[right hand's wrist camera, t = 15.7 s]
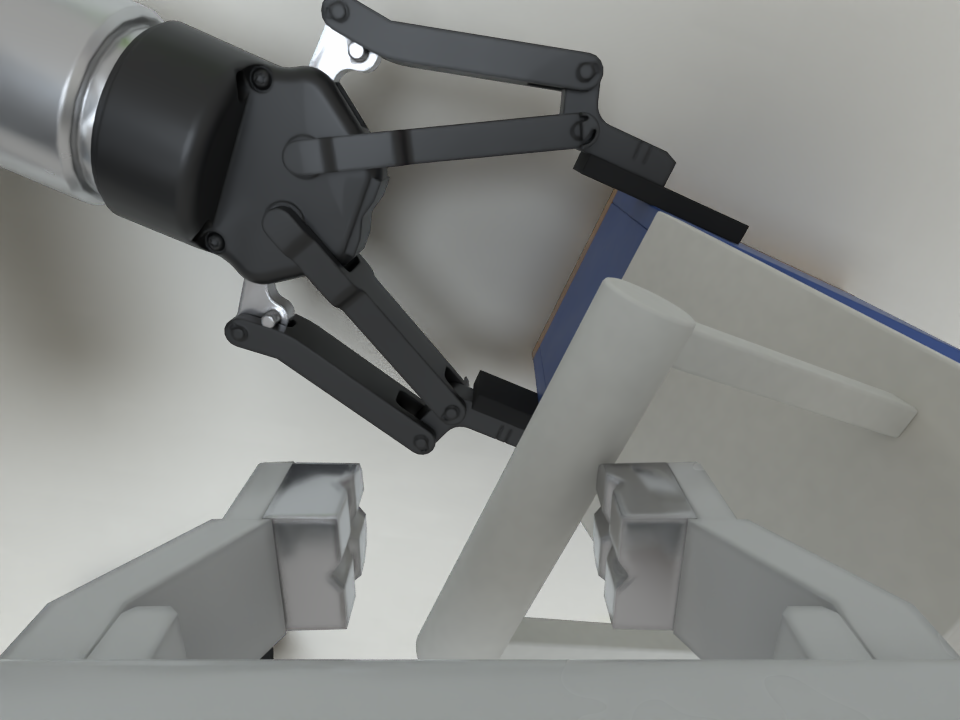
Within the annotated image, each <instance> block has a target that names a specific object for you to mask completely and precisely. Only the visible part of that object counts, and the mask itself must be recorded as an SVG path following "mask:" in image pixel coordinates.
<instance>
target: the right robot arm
mask: <svg viewBox="0 0 960 720" xmlns="http://www.w3.org/2000/svg"><path fill="white" fill-rule="evenodd" d="M363 491H364V484H363V474H362V469H361V466H360V463H310V462H296V463H295V462H264V463H260V464H259V465H258V466H257V467H256V469H255V470H254V472H253V473H252V475H251V476H250V478H249V479H248V481H247V482H246V484H245V485H244V487H243V488H242V490H241V491H240V493H239V494H238V496H237V497H236V499H235V500H234V502H233V503H232V505H231V507H230V508H229V510H228V511H227V513H226V514H225V516H224V517H223V519H211V520H209V521H207V522H206V523H204V524H202V525H200V526H198V527H196V528H194V529H192V530H190V531H188V532H186V533H184V534H182V535H180V536H178V537H176V538H174V539H172V540H170V541H168V542H167V543H165V544H163V545H161V546H159V547H157V548H155V549H153V550H151V551H149V552H147V553H145V554H143V555H141V556H139V557H137V558H135V559H133V560H131V561H129V562H128V563H126V564H124V565H122V566H120V567H118V568H116V569H114V570H112V571H110V572H108V573H106V574H104V575H102V576H100V577H98V578H96V579H94V580H92V581H91V582H89V583H87V584H85V585H83V586H81V587H79V588H77V589H75V590H73V591H71V592H69V593H67V594H65V595H63V596H61V597H59V598H57V599H55V600H53V601H52V602H50V603H48V604H47V605H46V606H45V607H44V608H43V609H42V610H41V611H40V612H39V614H38V615H37V616H36V617H35V618H34V619H33V620H32V621H31V622H30V624H29V625H28V626H27V627H26V628H25V629H24V630H23V631H22V632H21V633H20V635H19V636H18V637H17V638H16V639H15V640H14V641H13V642H12V643H11V644H10V646H9V647H8V648H7V649H6V650H5V651H4V652H3V653H2V654H1V655H0V720H960V656H959V655H958V654H957V653H956V651H955V650H954V649H953V648H952V647H951V646H950V645H949V644H948V643H947V641H946V640H945V639H944V638H943V637H942V636H941V635H940V634H939V633H938V631H937V630H936V629H935V628H934V627H933V626H932V625H931V624H930V623H929V621H928V620H927V619H926V618H925V617H924V616H923V615H922V614H921V613H920V611H919V610H918V609H917V608H916V607H915V606H914V605H913V604H911V603H909V602H907V601H906V600H904V599H902V598H900V597H898V596H896V595H894V594H892V593H890V592H888V591H886V590H884V589H882V588H880V587H878V586H876V585H874V584H873V583H871V582H869V581H867V580H865V579H863V578H861V577H859V576H857V575H855V574H853V573H851V572H849V571H847V570H845V569H843V568H841V567H840V566H838V565H836V564H834V563H832V562H830V561H828V560H826V559H824V558H822V557H820V556H818V555H816V554H814V553H812V552H810V551H808V550H807V549H805V548H803V547H801V546H799V545H797V544H795V543H793V542H791V541H789V540H787V539H785V538H783V537H781V536H779V535H777V534H775V533H774V532H772V531H770V530H768V529H766V528H764V527H762V526H760V525H758V524H756V523H754V522H752V521H750V520H748V519H737V518H736V516H735V515H734V513H733V512H732V510H731V509H730V507H729V506H728V504H727V503H726V501H725V500H724V498H723V497H722V495H721V494H720V492H719V491H718V489H717V488H716V486H715V485H714V483H713V482H712V480H711V479H710V477H709V476H708V474H707V473H706V471H705V470H704V468H703V467H702V465H701V464H700V463H698V462H696V461H693V462H670V463H666V462H652V463H610V464H600V465H599V467H598V472H597V480H596V492H597V495H598V498H599V501H600V505H601V507H600V508H599V509H598V510H597V511H596V512H595V514H594V524H593V545H594V556H595V563H596V567H597V571H598V575H599V576H600V577H601V578H603V579H604V580H605V588H604V598H605V602H606V605H607V609H608V613H609V616H610V620H611V623H612V627H613V629H631V630H667V631H673V634H674V635H675V636H676V637H678V638H679V639H680V640H681V641H682V642H683V643H684V644H685V645H686V646H687V647H688V648H689V649H690V650H691V651H692V652H693V653H694V654H695V655H696V656H697V657H699V658H700V659H260V658H261V657H263V656H264V655H265V654H266V653H267V652H268V651H269V650H270V649H271V648H272V647H273V646H274V645H275V644H276V643H277V642H278V641H279V640H280V639H282V638H283V637H284V636H285V635H286V631H292V630H327V629H347V626H348V623H349V619H350V615H351V612H352V608H353V604H354V601H355V597H356V592H355V580H356V579H357V578H358V577H360V576H361V574H362V570H363V566H364V561H365V552H366V544H367V526H366V514H365V513H364V512H363V510H362V509H361V508H360V507H359V504H360V501H361V497H362V494H363Z"/></svg>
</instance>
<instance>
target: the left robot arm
mask: <svg viewBox="0 0 960 720" xmlns="http://www.w3.org/2000/svg"><path fill="white" fill-rule="evenodd" d="M321 12H322V18H323V20H324V21H325V23H326V25H325V27H324V30H323V32H322V35H321V37H320V40H319V42H318V45H317V47H316V49H315V52H314V54H313V57H312V59H311V62H310V64H309V66H300V67H291V68H288V67H281V66H279V65H276V64H274V63H271V62H269V61H267V60H265V59H262V58H260V57H258V56H256V55H253V54H251V53H249V52H247V51H245V50H242V49H240V48H238V47H236V46H233V45H231V44H229V43H227V42H224V41H222V40H220V39H218V38H216V37H213V36H211V35H209V34H207V33H204V32H202V31H200V30H198V29H195V28H193V27H191V26H189V25H186V24H184V23H182V22H179V21H166V22H164V20H163V19H162V18H161V17H160V16H159V15H158V14H157V12H156V11H155V10H153V9H151V8H148V7H146V6H144V5H142V4H140V3H137V2H135V1H133V0H0V167H2V168H5V169H7V170H9V171H12V172H14V173H16V174H19V175H21V176H24V177H26V178H28V179H31V180H33V181H35V182H38V183H40V184H43V185H45V186H47V187H50V188H52V189H54V190H57V191H59V192H62V193H64V194H66V195H69V196H71V197H73V198H76V199H78V200H81V201H83V202H86V203H89V204H91V205H105V204H106V205H107V207H108V208H109V209H110V210H111V211H112V212H113V213H115V214H116V215H118V216H120V217H123V218H125V219H128V220H130V221H133V222H135V223H138V224H140V225H142V226H145V227H147V228H150V229H152V230H155V231H157V232H160V233H162V234H164V235H167V236H169V237H172V238H174V239H177V240H179V241H182V242H184V243H186V244H189V245H191V246H194V247H196V248H199V249H202V250H205V251H208V252H211V253H214V254H216V255H218V256H220V257H222V258H223V259H225V260H226V261H227V262H229V263H230V264H231V265H232V266H233V267H234V268H235V269H236V271H237V272H238V273H239V274H240V275H241V276H242V277H244V283H243V288H242V293H241V298H240V303H239V308H238V313H237V315H236V317H234V318H233V319H232V320H230V321H229V322H228V323H227V324H226V326H225V336H226V338H227V340H228V341H229V342H230V343H231V344H233V345H235V346H237V347H240V348H244V349H247V350H250V351H254V352H257V353H260V354H264V355H267V356H270V357H273V358H277V359H278V360H280V361H281V362H283V363H284V364H286V365H287V366H288V367H290V368H291V369H293V370H294V371H296V372H297V373H299V374H300V375H302V376H303V377H305V378H306V379H307V380H309V381H310V382H312V383H313V384H315V385H316V386H318V387H319V388H321V389H322V390H323V391H325V392H326V393H328V394H329V395H331V396H332V397H334V398H335V399H337V400H338V401H340V402H341V403H342V404H344V405H345V406H347V407H348V408H350V409H351V410H353V411H354V412H356V413H357V414H358V415H360V416H361V417H363V418H364V419H366V420H367V421H369V422H370V423H372V424H373V425H374V426H376V427H377V428H379V429H380V430H382V431H383V432H385V433H386V434H388V435H389V436H391V437H392V438H393V439H395V440H396V441H398V442H399V443H401V444H402V445H404V446H405V447H407V448H408V449H409V450H411V451H412V452H414V453H416V454H422V455H424V454H428V453H430V452H431V451H432V450H433V449H434V447H435V443H436V442H437V441H438V440H439V439H440V438H441V437H442V436H443V435H444V434H445V433H446V432H447V431H449V430H450V429H452V428H454V427H466V428H469V429H472V430H474V431H477V432H479V433H482V434H484V435H487V436H489V437H492V438H494V439H497V440H500V441H502V442H506V443H507V444H510V445H512V446H515V447H516V446H517V444H518V443H519V441H520V439H521V437H522V435H523V433H524V431H525V429H526V427H527V425H528V423H529V421H530V419H531V418H532V416H533V414H534V412H535V410H536V408H537V406H538V404H539V402H538V394H537V393H535V392H533V391H530V390H528V389H525V388H523V387H520V386H518V385H516V384H513V383H511V382H508V381H506V380H503V379H501V378H499V377H496V376H494V375H491V374H489V373H486V372H484V371H481V370H480V372H479V374H478V376H477V378H476V380H475V382H474V387H473V389H472V388H470V387H469V380H468V378H467V377H465V378H464V380H463V379H462V378H461V377H460V375H459V374H458V373H457V372H456V371H455V370H454V368H453V367H452V366H451V365H450V364H449V363H448V361H447V360H446V359H445V358H444V357H443V356H442V354H441V353H440V352H439V351H438V350H437V349H436V347H435V346H434V345H433V344H432V343H431V342H430V340H429V339H428V338H427V337H426V336H425V335H424V333H423V332H422V331H421V330H420V329H419V328H418V326H417V325H416V324H415V323H414V322H413V321H412V319H411V318H410V317H409V316H408V315H407V314H406V312H405V311H404V310H403V309H402V308H401V307H400V306H399V304H398V303H397V302H396V301H395V300H394V299H393V297H392V296H391V295H390V294H389V293H388V292H387V290H386V289H385V288H384V287H383V286H382V285H381V283H380V282H379V281H378V280H377V279H376V277H375V275H374V273H373V270H372V269H371V267H370V266H369V264H368V263H367V262H366V261H365V260H364V258H363V257H362V256H361V255H360V254H359V252H360V251H361V250H363V249H364V247H365V244H366V242H367V239H368V236H369V233H370V229H371V216H372V211H373V209H374V208H375V206H376V205H377V203H378V202H379V201H380V199H381V198H382V196H383V195H384V192H385V189H386V187H387V184H388V181H389V178H390V177H388V176H387V174H388V171H387V167H394V166H403V165H409V164H419V163H429V162H439V161H450V160H460V159H471V158H481V157H492V156H502V155H513V154H523V153H534V152H544V151H555V150H565V149H577V150H579V151H581V152H580V154H579V157H578V159H577V161H576V163H575V165H574V168H573V169H575V170H576V171H578V172H580V173H581V174H583V175H586V176H588V177H590V178H592V179H594V180H597V181H599V182H601V183H603V184H605V185H608V186H610V187H612V188H614V189H616V190H619V191H621V192H623V193H625V194H627V195H630V196H632V197H634V198H636V199H638V200H641V201H643V202H645V203H647V204H649V205H652V206H655V207H657V208H659V209H661V210H664V211H666V212H668V213H670V214H672V215H674V216H676V217H679V218H681V219H683V220H685V221H687V222H689V223H691V224H694V225H696V226H698V227H700V228H702V229H705V230H707V231H709V232H711V233H713V234H716V235H718V236H720V237H722V238H724V239H727V240H729V241H731V242H733V243H735V244H738V245H739V243H740V241H741V239H742V238H743V236H744V234H745V232H746V231H747V229H748V227H749V226H747V225H745V224H743V223H741V222H739V221H737V220H734V219H732V218H730V217H728V216H726V215H723V214H721V213H719V212H717V211H715V210H713V209H710V208H708V207H706V206H704V205H702V204H700V203H697V202H695V201H693V200H691V199H689V198H686V197H684V196H682V195H680V194H678V193H676V192H673V191H671V190H669V189H667V188H665V187H664V186H665V184H666V182H667V180H668V178H669V176H670V174H671V172H672V170H673V168H674V166H675V164H676V162H675V161H674V160H673V158H672V157H671V156H670V155H669V154H668V153H667V152H666V151H664V150H662V149H660V148H658V147H655V146H653V145H651V144H649V143H647V142H645V141H642V140H640V139H638V138H636V137H634V136H632V135H630V134H628V133H625V132H623V131H621V130H619V129H617V128H615V127H613V126H610V125H609V124H607V123H606V122H605V121H604V120H603V119H602V118H601V116H600V114H599V110H598V98H599V88H600V81H601V79H602V76H603V66H602V63H601V60H600V59H599V58H598V57H597V56H596V55H593V54H591V53H587V52H581V51H575V50H568V49H562V48H556V47H550V46H544V45H538V44H532V43H525V42H519V41H513V40H507V39H501V38H495V37H489V36H482V35H476V34H470V33H464V32H458V31H452V30H446V29H439V28H433V27H427V26H421V25H415V24H409V23H403V22H396V21H391V20H389V19H387V18H386V17H384V16H382V15H381V14H379V13H377V12H375V11H374V10H372V9H370V8H369V7H367V6H365V5H364V4H362V3H360V2H359V1H357V0H324V1H323V3H322V8H321ZM382 58H383V59H385V60H388V61H390V62H393V63H396V64H399V65H403V66H408V67H413V68H419V69H425V70H432V71H438V72H444V73H450V74H456V75H463V76H469V77H475V78H481V79H488V80H494V81H500V82H506V83H512V84H519V85H525V86H531V87H537V88H543V89H550V90H556V91H562V95H561V106H560V114H557V115H547V116H537V117H527V118H517V119H507V120H497V121H486V122H476V123H466V124H456V125H446V126H436V127H426V128H415V129H405V130H395V131H384V132H374V133H371V132H370V131H369V129H368V128H367V126H366V124H365V123H364V121H363V119H362V118H361V116H360V115H359V113H358V111H357V110H356V108H355V106H354V105H353V103H352V102H351V100H350V98H349V97H348V95H347V94H346V92H345V90H344V89H343V87H342V85H341V84H340V83H339V81H340V79H341V78H342V76H343V75H344V74H345V73H347V72H349V71H359V72H363V73H370V72H372V71H374V70H375V69H376V68H377V67H378V66H379V64H380V62H381V60H382ZM303 276H306V277H307V278H308V279H309V280H310V281H311V282H312V283H313V285H314V286H315V287H316V288H317V289H318V290H319V291H320V292H321V293H322V295H323V296H324V297H325V298H326V299H327V300H328V301H329V302H330V303H331V304H332V305H333V306H335V307H337V308H340V309H341V310H343V311H344V312H345V314H346V315H347V316H348V317H349V318H350V319H351V320H352V321H353V323H354V324H355V325H356V326H357V327H358V328H359V329H360V330H361V332H362V333H363V334H364V335H365V336H366V337H367V338H368V339H369V341H370V342H371V343H372V344H373V345H374V346H375V347H376V348H377V350H378V351H379V352H380V353H381V354H382V355H383V356H384V357H385V358H386V360H387V361H388V362H389V363H390V364H391V365H392V366H393V367H394V369H395V370H396V371H397V372H398V373H399V374H400V375H401V376H402V378H403V379H404V380H405V381H406V382H407V383H408V384H409V385H410V387H411V388H412V389H413V390H414V391H415V392H416V393H417V394H418V396H419V397H420V398H419V397H418V396H416V395H415V394H414V393H412V392H411V391H409V390H408V389H407V388H405V387H404V386H402V385H401V384H399V383H398V382H397V381H395V380H394V379H392V378H391V377H390V376H388V375H387V374H385V373H384V372H383V371H381V370H380V369H378V368H377V367H375V366H374V365H373V364H371V363H370V362H368V361H367V360H366V359H364V358H363V357H361V356H360V355H359V354H357V353H356V352H354V351H353V350H351V349H350V348H349V347H347V346H346V345H344V344H343V343H342V342H340V341H339V340H337V339H336V338H335V337H333V336H332V335H330V334H329V333H327V332H326V331H325V330H323V329H322V328H320V327H319V326H317V325H316V324H314V323H313V322H311V321H310V320H308V319H306V318H304V317H302V316H300V315H297V314H295V310H294V307H293V305H292V303H291V302H290V301H289V300H287V299H285V298H284V297H282V296H281V295H280V294H279V293H278V291H277V290H276V286H275V283H277V282H281V281H286V280H290V279H294V278H299V277H303Z"/></svg>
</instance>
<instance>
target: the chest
mask: <svg viewBox="0 0 960 720" xmlns="http://www.w3.org/2000/svg"><path fill="white" fill-rule="evenodd" d="M658 211H661V212H663V213H666V214H668V215H670V216H672V217H674V218H677V219H679V220H681V221H683V222H685V223H687V224H689V225H691V226H693V227H695V228H697V229H698V230H700V231H702V232H704V233H706V234H708V235H710V236H712V237H714V238H716V239H718V240H720V241H722V242H724V243H726V244H728V245H730V246H732V247H734V248H736V249H737V250H739V251H741V252H743V253H745V254H747V255H749V256H751V257H753V258H755V259H757V260H759V261H761V262H763V263H765V264H767V265H769V266H771V267H773V268H775V269H777V270H778V271H780V272H782V273H784V274H786V275H788V276H790V277H792V278H794V279H796V280H798V281H800V282H802V283H804V284H806V285H808V286H810V287H812V288H814V289H816V290H817V291H819V292H821V293H823V294H825V295H827V296H829V297H831V298H833V299H835V300H837V301H839V302H841V303H843V304H845V305H847V306H849V307H851V308H853V309H855V310H857V311H858V312H860V313H862V314H864V315H866V316H868V317H870V318H872V319H874V320H876V321H878V322H880V323H882V324H884V325H886V326H888V327H890V328H892V329H894V330H896V331H897V332H899V333H901V334H903V335H905V336H907V337H909V338H911V339H913V340H915V341H917V342H919V343H921V344H923V345H925V346H927V347H929V348H931V349H933V350H935V351H936V352H938V353H940V354H942V355H944V356H946V357H948V358H950V359H952V360H954V361H956V362H958V363H960V349H958V348H956V347H954V346H952V345H950V344H948V343H946V342H944V341H942V340H940V339H938V338H936V337H934V336H932V335H930V334H928V333H926V332H924V331H922V330H920V329H918V328H916V327H914V326H912V325H910V324H908V323H906V322H904V321H902V320H900V319H898V318H896V317H894V316H892V315H890V314H889V313H887V312H885V311H883V310H881V309H879V308H877V307H875V306H873V305H871V304H869V303H867V302H865V301H863V300H861V299H859V298H857V297H855V296H853V295H851V294H849V293H847V292H845V291H843V290H841V289H839V288H837V287H835V286H833V285H831V284H828V283H826V282H824V281H822V280H820V279H818V278H816V277H814V276H811V275H809V274H807V273H805V272H803V271H801V270H799V269H796V268H794V267H792V266H790V265H788V264H786V263H784V262H781V261H779V260H777V259H775V258H773V257H771V256H769V255H767V254H764V253H762V252H760V251H758V250H756V249H754V248H752V247H749V246H747V245H745V244H743V243H741V242H740V243H739V245H738V244H735V243H733V242H731V241H729V240H727V239H724V238H722V237H720V236H718V235H716V234H713V233H711V232H709V231H707V230H705V229H702V228H700V227H698V226H696V225H694V224H691V223H689V222H687V221H685V220H683V219H681V218H679V217H676V216H674V215H672V214H670V213H668V212H666V211H664V210H661V209H659V208H657V207H655V206H652V205H649V204H647V203H645V202H643V201H641V200H638V199H636V198H634V197H632V196H630V195H627V194H625V193H623V192H621V191H619V190H616V189H614V190H613V192H612V194H611V196H610V198H609V200H608V202H607V204H606V206H605V208H604V210H603V212H602V214H601V216H600V218H599V220H598V222H597V224H596V226H595V228H594V230H593V232H592V234H591V236H590V238H589V240H588V242H587V244H586V246H585V248H584V250H583V252H582V254H581V256H580V258H579V260H578V262H577V264H576V266H575V268H574V270H573V272H572V274H571V276H570V278H569V280H568V282H567V284H566V286H565V288H564V290H563V292H562V294H561V296H560V298H559V300H558V302H557V304H556V306H555V308H554V310H553V312H552V314H551V316H550V318H549V320H548V322H547V324H546V326H545V328H544V330H543V332H542V334H541V336H540V338H539V340H538V342H537V344H536V346H535V348H534V350H533V352H532V358H533V361H534V369H535V378H536V386H537V394H538V402H540V400H541V398H542V396H543V394H544V393H545V391H546V389H547V387H548V385H549V383H550V381H551V379H552V377H553V375H554V373H555V371H556V370H557V368H558V366H559V364H560V362H561V360H562V358H563V356H564V354H565V352H566V350H567V348H568V346H569V345H570V343H571V341H572V339H573V337H574V335H575V333H576V331H577V329H578V327H579V325H580V323H581V321H582V320H583V318H584V316H585V314H586V312H587V310H588V308H589V306H590V304H591V302H592V300H593V298H594V297H595V295H596V293H597V291H598V289H599V287H600V285H601V283H602V281H603V280H604V279H605V278H607V277H611V278H618V279H621V280H622V278H623V276H624V274H625V272H626V270H627V268H628V266H629V264H630V263H631V261H632V259H633V257H634V255H635V253H636V251H637V249H638V247H639V246H640V244H641V242H642V240H643V238H644V236H645V234H646V232H647V231H648V229H649V227H650V225H651V223H652V221H653V219H654V217H655V215H656V214H657V212H658Z"/></svg>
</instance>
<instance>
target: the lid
mask: <svg viewBox="0 0 960 720" xmlns="http://www.w3.org/2000/svg"><path fill="white" fill-rule="evenodd" d="M693 461H696V462H698V463H700V464H701V465H702V467H703V468H704V470H705V471H706V473H707V474H708V476H709V477H710V479H711V480H712V482H713V483H714V485H715V486H716V488H717V489H718V491H719V492H720V494H721V495H722V497H723V498H724V500H725V501H726V503H727V504H728V506H729V507H730V509H731V510H732V512H733V513H734V515H735V516H736V518H737V519H748V520H750V521H752V522H754V523H756V524H758V525H760V526H762V527H764V528H766V529H768V530H770V531H772V532H774V533H775V534H777V535H779V536H781V537H783V538H785V539H787V540H789V541H791V542H793V543H795V544H797V545H799V546H801V547H803V548H805V549H807V550H808V551H810V552H812V553H814V554H816V555H818V556H820V557H822V558H824V559H826V560H828V561H830V562H832V563H834V564H836V565H838V566H840V567H841V568H843V569H845V570H847V571H849V572H851V573H853V574H855V575H857V576H859V577H861V578H863V579H865V580H867V581H869V582H871V583H873V584H874V585H876V586H878V587H880V588H882V589H884V590H886V591H888V592H890V593H892V594H894V595H896V596H898V597H900V598H902V599H904V600H906V601H907V602H909V603H911V604H913V605H914V606H915V607H916V608H917V609H918V610H919V611H920V613H921V614H922V615H923V616H924V617H925V618H926V619H927V620H928V621H929V623H930V624H931V625H932V626H933V627H934V628H935V629H936V630H937V631H938V633H939V634H940V635H941V636H942V637H943V638H944V639H945V640H946V641H947V643H948V644H949V645H950V646H951V647H952V648H953V649H954V650H955V651H956V653H957V654H958V655H959V656H960V363H958V362H956V361H954V360H952V359H950V358H948V357H946V356H944V355H942V354H940V353H938V352H936V351H935V350H933V349H931V348H929V347H927V346H925V345H923V344H921V343H919V342H917V341H915V340H913V339H911V338H909V337H907V336H905V335H903V334H901V333H899V332H897V331H896V330H894V329H892V328H890V327H888V326H886V325H884V324H882V323H880V322H878V321H876V320H874V319H872V318H870V317H868V316H866V315H864V314H862V313H860V312H858V311H857V310H855V309H853V308H851V307H849V306H847V305H845V304H843V303H841V302H839V301H837V300H835V299H833V298H831V297H829V296H827V295H825V294H823V293H821V292H819V291H817V290H816V289H814V288H812V287H810V286H808V285H806V284H804V283H802V282H800V281H798V280H796V279H794V278H792V277H790V276H788V275H786V274H784V273H782V272H780V271H778V270H777V269H775V268H773V267H771V266H769V265H767V264H765V263H763V262H761V261H759V260H757V259H755V258H753V257H751V256H749V255H747V254H745V253H743V252H741V251H739V250H737V249H736V248H734V247H732V246H730V245H728V244H726V243H724V242H722V241H720V240H718V239H716V238H714V237H712V236H710V235H708V234H706V233H704V232H702V231H700V230H698V229H697V228H695V227H693V226H691V225H689V224H687V223H685V222H683V221H681V220H679V219H677V218H674V217H672V216H670V215H668V214H666V213H663V212H661V211H658V212H657V214H656V215H655V217H654V219H653V221H652V223H651V225H650V227H649V229H648V231H647V232H646V234H645V236H644V238H643V240H642V242H641V244H640V246H639V247H638V249H637V251H636V253H635V255H634V257H633V259H632V261H631V263H630V264H629V266H628V268H627V270H626V272H625V274H624V276H623V278H622V280H621V279H618V278H611V277H607V278H605V279H604V280H603V281H602V283H601V285H600V287H599V289H598V291H597V293H596V295H595V297H594V298H593V300H592V302H591V304H590V306H589V308H588V310H587V312H586V314H585V316H584V318H583V320H582V321H581V323H580V325H579V327H578V329H577V331H576V333H575V335H574V337H573V339H572V341H571V343H570V345H569V346H568V348H567V350H566V352H565V354H564V356H563V358H562V360H561V362H560V364H559V366H558V368H557V370H556V371H555V373H554V375H553V377H552V379H551V381H550V383H549V385H548V387H547V389H546V391H545V393H544V394H543V396H542V398H541V400H540V402H539V404H538V406H537V408H536V410H535V412H534V414H533V416H532V418H531V419H530V421H529V423H528V425H527V427H526V429H525V431H524V433H523V435H522V437H521V439H520V441H519V443H518V444H517V446H516V448H515V450H514V452H513V454H512V456H511V458H510V460H509V462H508V464H507V466H506V468H505V469H504V471H503V473H502V475H501V477H500V479H499V481H498V483H497V485H496V487H495V489H494V491H493V492H492V494H491V496H490V498H489V500H488V502H487V504H486V506H485V508H484V510H483V512H482V514H481V516H480V517H479V519H478V521H477V523H476V525H475V527H474V529H473V531H472V533H471V535H470V537H469V539H468V541H467V542H466V544H465V546H464V548H463V550H462V552H461V554H460V556H459V558H458V560H457V562H456V564H455V565H454V567H453V569H452V571H451V573H450V575H449V577H448V579H447V581H446V583H445V585H444V587H443V589H442V590H441V592H440V594H439V596H438V598H437V600H436V602H435V604H434V606H433V608H432V610H431V612H430V614H429V615H428V617H427V619H426V621H425V623H424V625H423V627H422V629H421V631H420V633H419V635H418V637H417V640H416V653H417V657H418V659H700V658H699V657H697V656H696V655H695V654H694V653H693V652H692V651H691V650H690V649H689V648H688V647H687V646H686V645H685V644H684V643H683V642H682V641H681V640H680V639H679V638H678V637H676V636H675V635H674V634H673V631H667V630H631V629H613V627H612V623H598V622H585V621H571V620H558V619H544V618H530V617H524V616H525V615H526V613H527V611H528V609H529V608H530V606H531V604H532V603H533V601H534V599H535V598H536V596H537V594H538V593H539V591H540V589H541V587H542V586H543V584H544V582H545V581H546V579H547V577H548V576H549V574H550V572H551V571H552V569H553V567H554V565H555V564H556V562H557V560H558V559H559V557H560V555H561V554H562V552H563V550H564V549H565V547H566V545H567V543H568V542H569V540H570V538H571V537H572V535H573V533H574V532H575V530H576V528H577V526H578V525H579V523H580V521H581V523H582V524H583V526H584V527H585V529H586V531H587V532H588V534H589V535H590V537H591V539H592V540H593V524H594V514H595V512H596V511H597V510H598V509H599V508H600V507H601V505H600V501H599V498H598V495H597V492H596V480H597V472H598V467H599V465H600V464H610V463H652V462H666V463H670V462H693Z"/></svg>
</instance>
